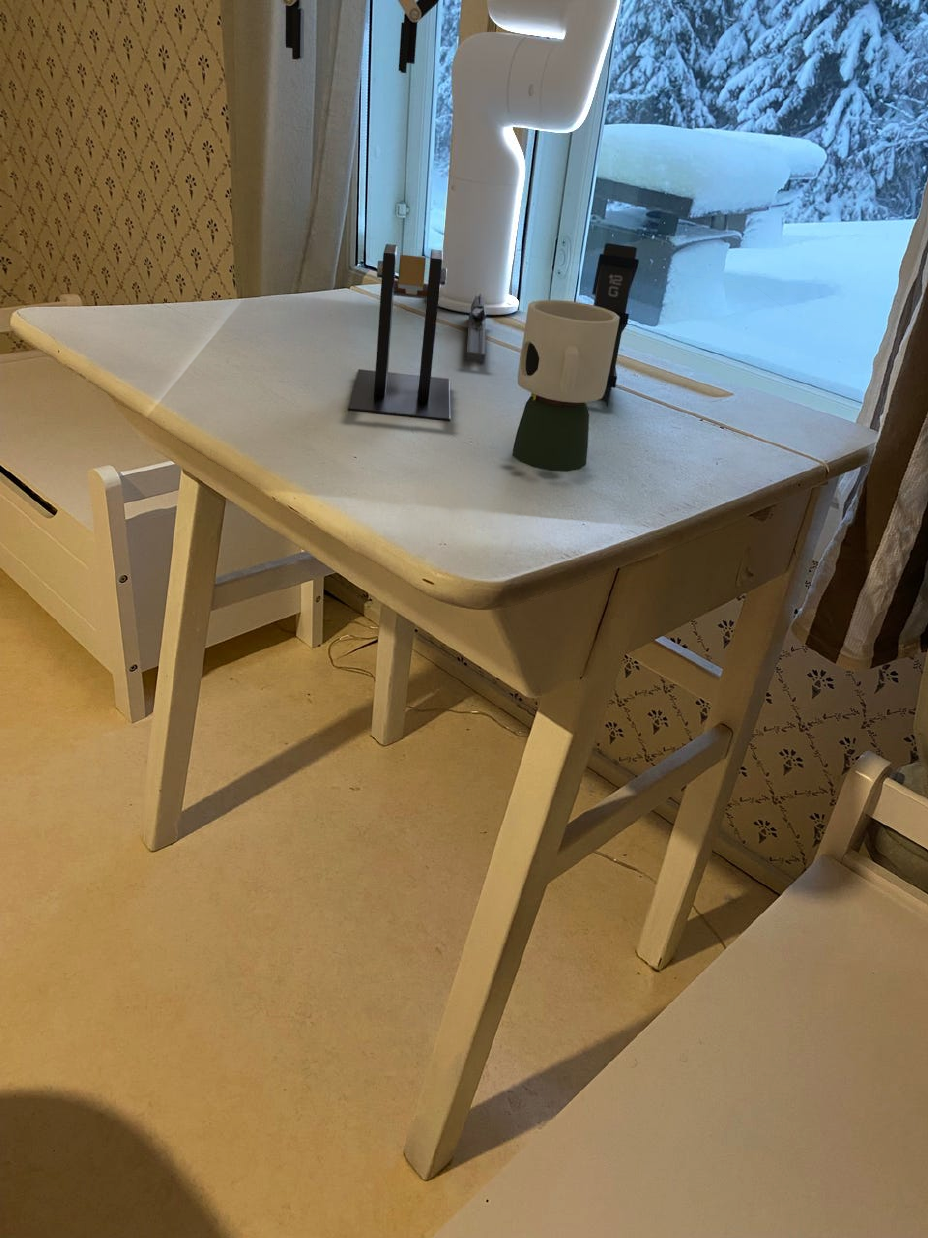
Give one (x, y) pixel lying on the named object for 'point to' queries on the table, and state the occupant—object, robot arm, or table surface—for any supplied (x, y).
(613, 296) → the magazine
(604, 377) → the character mug
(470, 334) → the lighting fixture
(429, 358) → the stand
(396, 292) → the switch lever
